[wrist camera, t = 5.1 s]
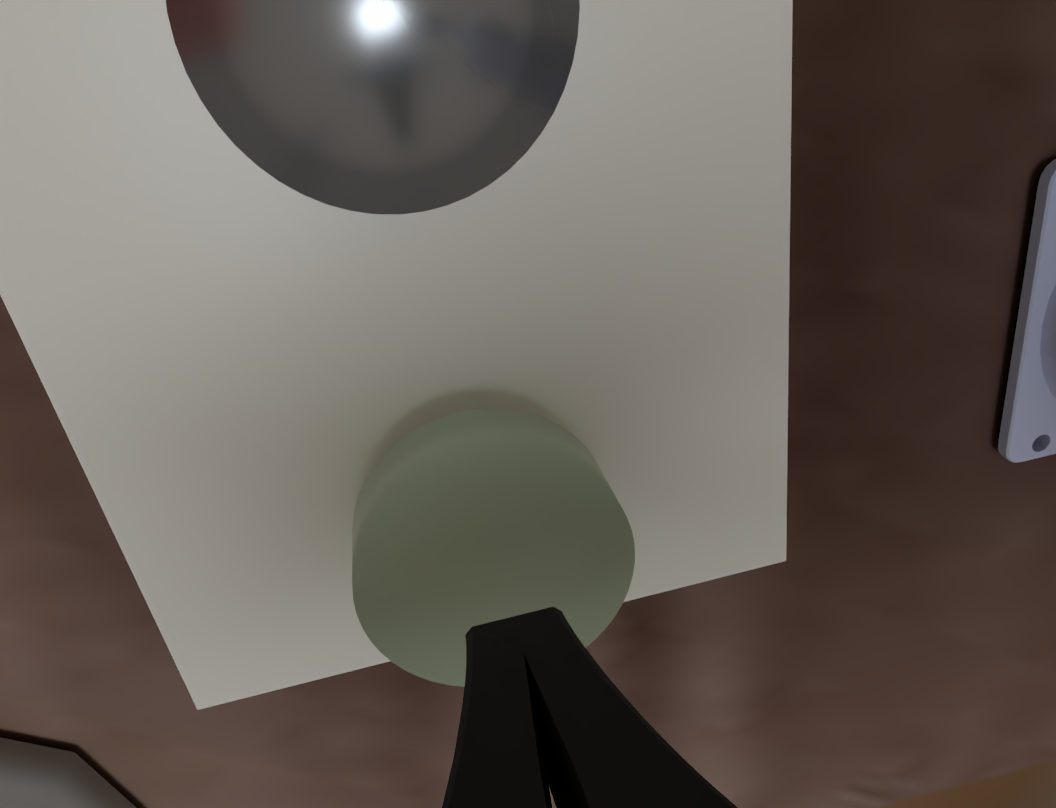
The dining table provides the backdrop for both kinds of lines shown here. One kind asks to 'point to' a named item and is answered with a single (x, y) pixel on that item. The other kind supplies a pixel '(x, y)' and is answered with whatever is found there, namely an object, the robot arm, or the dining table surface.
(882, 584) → the dining table surface
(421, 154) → the grey button
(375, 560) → the sage button
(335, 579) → the control panel
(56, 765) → the flask
